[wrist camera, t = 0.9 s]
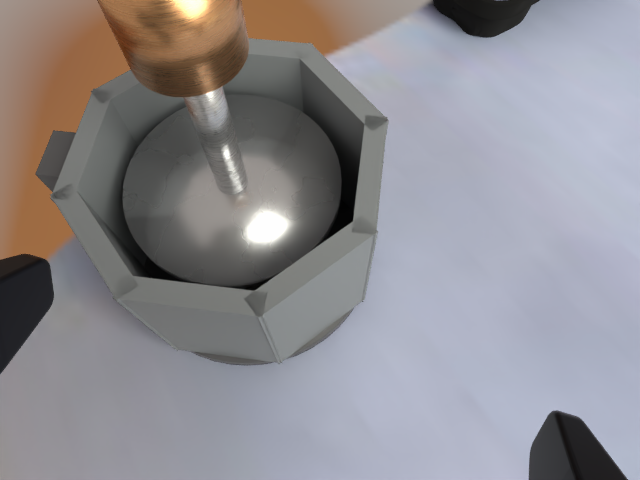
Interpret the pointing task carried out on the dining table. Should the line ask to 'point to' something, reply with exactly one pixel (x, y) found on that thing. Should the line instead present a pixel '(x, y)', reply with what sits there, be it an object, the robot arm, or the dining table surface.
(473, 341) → the dining table surface
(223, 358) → the press jug
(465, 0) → the egg carton
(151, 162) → the plunger
